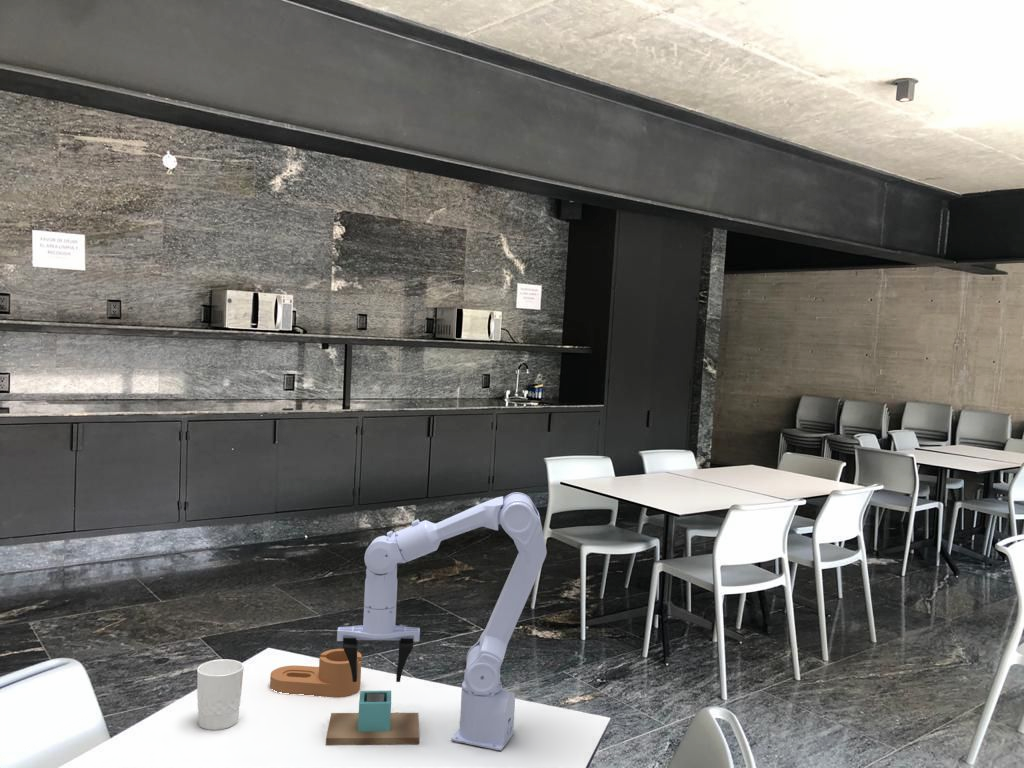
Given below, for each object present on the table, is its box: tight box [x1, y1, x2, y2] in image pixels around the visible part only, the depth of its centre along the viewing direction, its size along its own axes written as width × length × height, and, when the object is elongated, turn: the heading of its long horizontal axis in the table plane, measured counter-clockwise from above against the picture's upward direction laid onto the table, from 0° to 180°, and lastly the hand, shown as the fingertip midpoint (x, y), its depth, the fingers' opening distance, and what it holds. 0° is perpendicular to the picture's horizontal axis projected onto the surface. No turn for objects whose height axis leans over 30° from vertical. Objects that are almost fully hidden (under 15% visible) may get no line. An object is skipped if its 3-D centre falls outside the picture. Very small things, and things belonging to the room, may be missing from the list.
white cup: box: [196, 658, 245, 731], centre depth 147 cm, size 8×8×10 cm
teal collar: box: [358, 690, 392, 732], centre depth 147 cm, size 6×6×5 cm
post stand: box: [325, 694, 420, 746], centre depth 147 cm, size 16×10×6 cm, turn 97°
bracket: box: [269, 648, 363, 699], centre depth 165 cm, size 18×8×7 cm, turn 88°
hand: (376, 679), depth 147 cm, fingers open, 7 cm apart
